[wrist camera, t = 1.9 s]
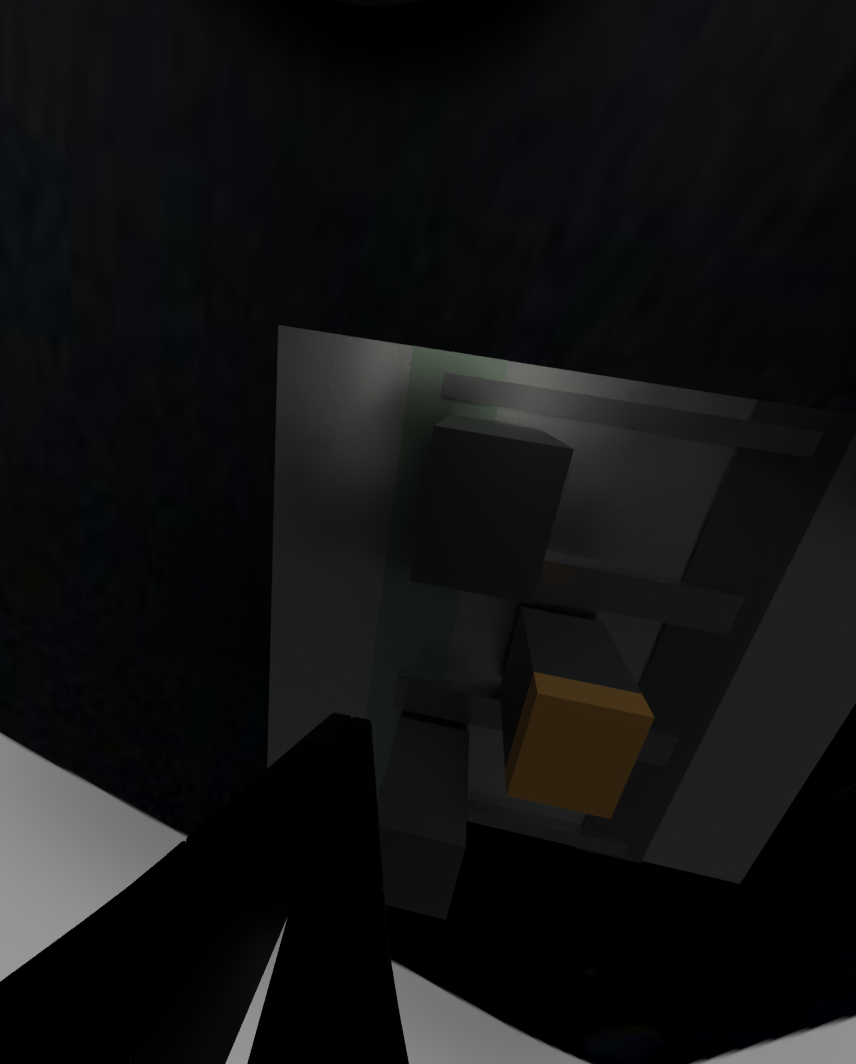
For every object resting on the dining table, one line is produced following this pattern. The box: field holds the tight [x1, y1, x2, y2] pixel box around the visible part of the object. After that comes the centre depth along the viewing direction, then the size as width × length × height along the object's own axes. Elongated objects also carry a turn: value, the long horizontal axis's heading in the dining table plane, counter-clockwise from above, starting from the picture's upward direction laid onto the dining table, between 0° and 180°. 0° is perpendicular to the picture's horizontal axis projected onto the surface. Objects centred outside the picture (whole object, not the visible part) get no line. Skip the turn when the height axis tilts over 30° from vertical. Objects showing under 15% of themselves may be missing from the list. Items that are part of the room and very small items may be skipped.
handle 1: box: [378, 717, 469, 920], centre depth 12 cm, size 2×3×4 cm
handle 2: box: [410, 415, 574, 604], centre depth 9 cm, size 2×3×4 cm
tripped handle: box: [500, 606, 655, 819], centre depth 11 cm, size 2×3×4 cm
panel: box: [267, 325, 856, 883], centre depth 13 cm, size 18×16×1 cm
